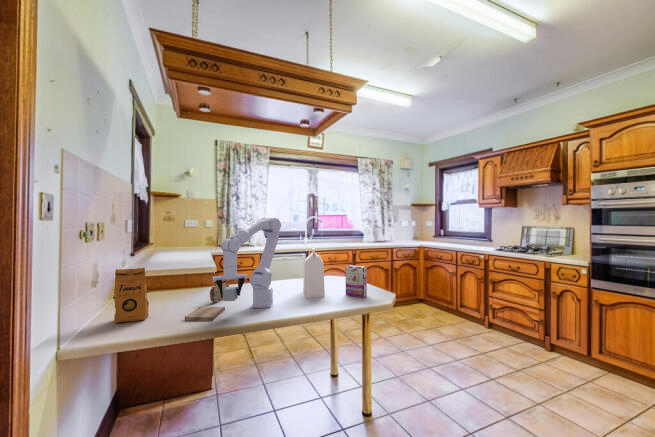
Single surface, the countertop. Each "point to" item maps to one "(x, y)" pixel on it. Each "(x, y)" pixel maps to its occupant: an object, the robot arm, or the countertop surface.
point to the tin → (217, 293)
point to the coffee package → (130, 295)
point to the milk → (313, 276)
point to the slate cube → (230, 293)
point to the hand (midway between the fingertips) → (230, 296)
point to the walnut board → (204, 314)
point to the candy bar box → (356, 281)
